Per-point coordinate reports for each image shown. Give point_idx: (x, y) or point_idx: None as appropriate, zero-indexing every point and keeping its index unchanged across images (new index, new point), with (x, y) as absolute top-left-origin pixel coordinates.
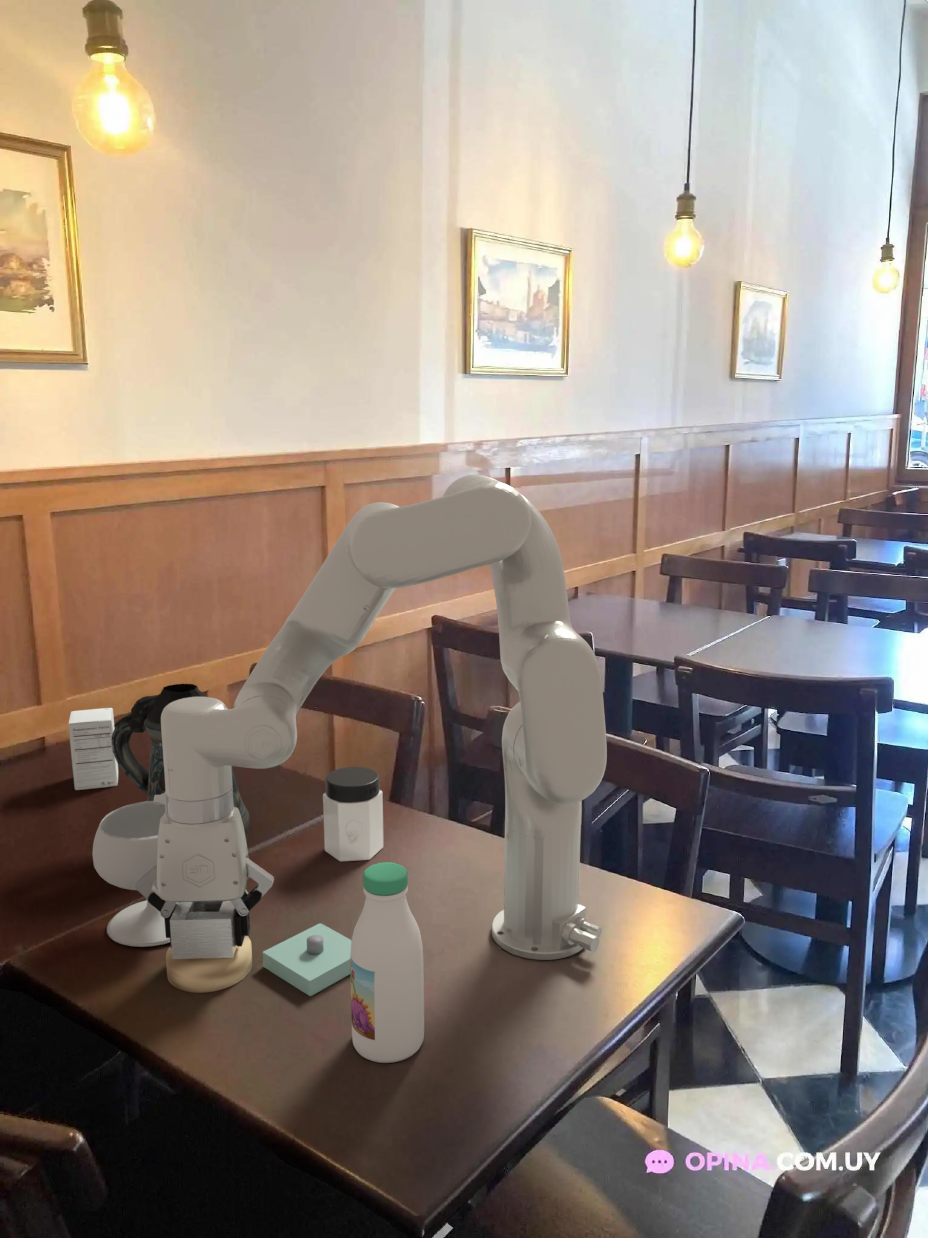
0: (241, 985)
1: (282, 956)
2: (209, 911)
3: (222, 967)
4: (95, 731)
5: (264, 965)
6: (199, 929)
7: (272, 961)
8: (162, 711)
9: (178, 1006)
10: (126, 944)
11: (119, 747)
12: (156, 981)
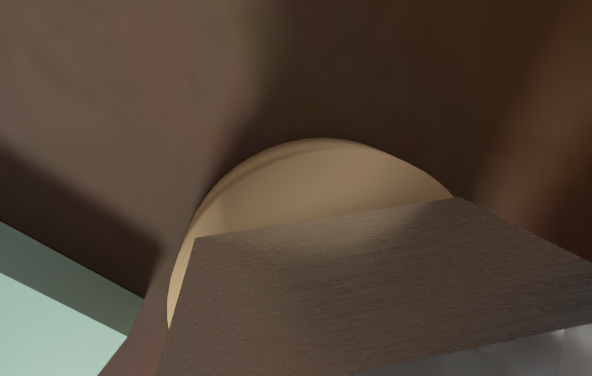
0: (180, 192)
1: (27, 321)
2: None
3: (240, 201)
4: None
5: (134, 299)
6: (402, 295)
7: (72, 296)
8: None
9: (359, 55)
10: None
11: None
12: (461, 186)
